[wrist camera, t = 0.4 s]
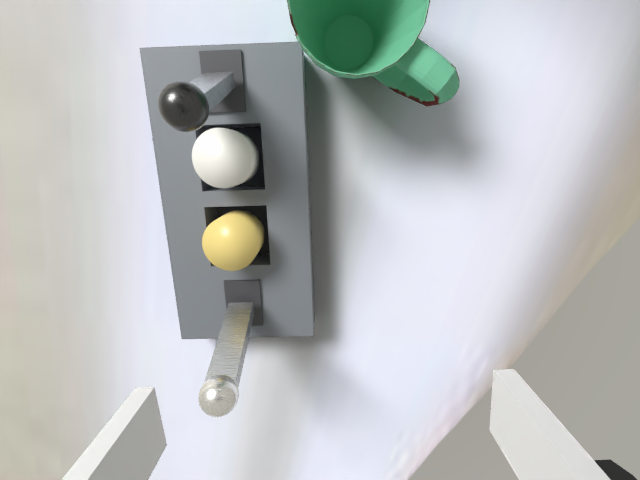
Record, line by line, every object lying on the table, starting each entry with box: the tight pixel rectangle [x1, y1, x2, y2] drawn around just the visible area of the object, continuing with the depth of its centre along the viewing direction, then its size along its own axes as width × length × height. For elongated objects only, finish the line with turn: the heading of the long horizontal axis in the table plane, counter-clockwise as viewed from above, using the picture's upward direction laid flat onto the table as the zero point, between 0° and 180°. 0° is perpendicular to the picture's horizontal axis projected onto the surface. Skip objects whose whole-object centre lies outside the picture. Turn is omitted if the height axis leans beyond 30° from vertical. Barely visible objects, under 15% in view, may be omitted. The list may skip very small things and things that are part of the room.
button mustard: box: [202, 210, 265, 271], centre depth 33 cm, size 5×5×4 cm
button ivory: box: [192, 128, 260, 188], centre depth 31 cm, size 5×5×4 cm
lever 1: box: [158, 72, 235, 132], centre depth 25 cm, size 3×3×11 cm
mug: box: [287, 0, 459, 106], centre depth 29 cm, size 15×10×10 cm
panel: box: [140, 42, 314, 339], centre depth 35 cm, size 28×14×4 cm, turn 2°
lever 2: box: [198, 302, 255, 417], centre depth 30 cm, size 3×3×11 cm
